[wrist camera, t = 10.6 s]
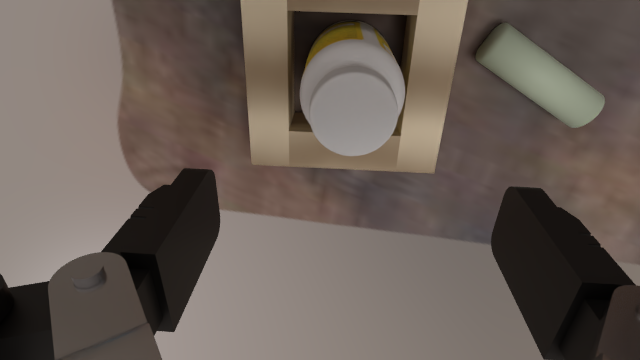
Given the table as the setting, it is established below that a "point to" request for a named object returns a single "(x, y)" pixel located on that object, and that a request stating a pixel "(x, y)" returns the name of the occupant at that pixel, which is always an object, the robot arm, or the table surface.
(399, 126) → the socket block
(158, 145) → the table surface
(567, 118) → the lying dowel
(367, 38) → the supplement bottle
